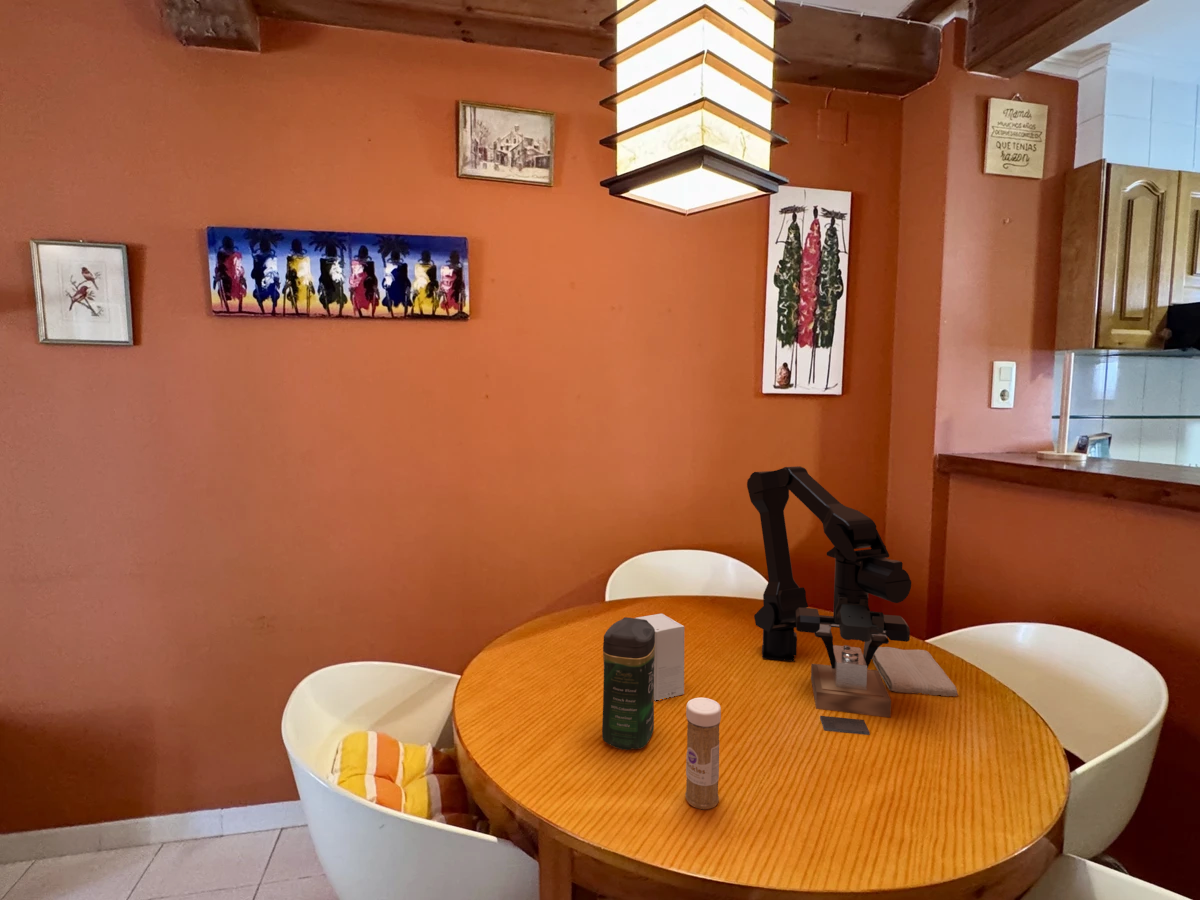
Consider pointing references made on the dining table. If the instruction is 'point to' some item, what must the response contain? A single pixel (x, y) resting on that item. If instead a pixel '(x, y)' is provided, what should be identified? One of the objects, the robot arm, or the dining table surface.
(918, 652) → the washcloth
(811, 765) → the dining table surface
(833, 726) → the cover plate
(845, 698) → the tray
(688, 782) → the sprinkles bottle
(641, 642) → the coffee jar
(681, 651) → the small box
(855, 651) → the housing
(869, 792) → the dining table surface
